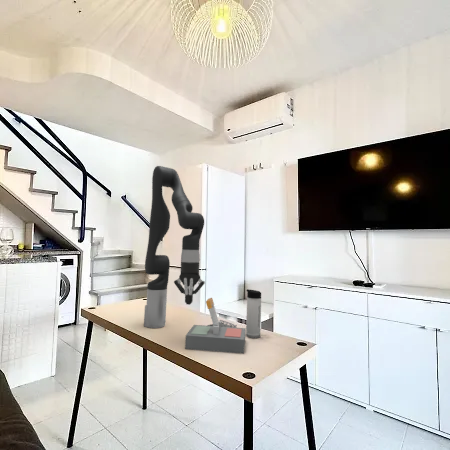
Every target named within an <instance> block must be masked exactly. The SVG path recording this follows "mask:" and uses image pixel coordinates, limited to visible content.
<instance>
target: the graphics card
mask: <svg viewBox="0 0 450 450" xmlns="http://www.w3.org/2000/svg"><path fill="white" fill-rule="evenodd" d="M218 321H221V327H234V328H238V326H237V324H234V323H231V322H228V321H225V320H223V319H218ZM206 326H213V323H212V324H207V325H206Z"/></svg>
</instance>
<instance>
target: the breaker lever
mask: <svg viewBox="0 0 450 450" xmlns="http://www.w3.org/2000/svg"><path fill="white" fill-rule="evenodd" d="M205 303H206V307H207V309H208V312H209V315H210V319H211V322H212V324H213V326H219V325H220V324H219V318H218V315H217V312H216V308H215V303H214V300H213V297H209V298H208V299H207V300H205Z"/></svg>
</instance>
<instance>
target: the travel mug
mask: <svg viewBox="0 0 450 450" xmlns="http://www.w3.org/2000/svg"><path fill="white" fill-rule="evenodd" d="M246 292H247V294H246V295H247V296H246V322H245V324H246V325H245V326H246V327H245V328H246V332H245V337H247V338H250V339H259V338H261V328H262V327H261V325H262V323H261V321H262V319H261V318H262V292H261V291H259V290H254V289H247V288H246Z"/></svg>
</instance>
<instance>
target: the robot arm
mask: <svg viewBox="0 0 450 450" xmlns="http://www.w3.org/2000/svg"><path fill="white" fill-rule="evenodd" d="M151 180H152V181H151V183H152V186H151V189H152V190H151V209H150V217H149V230H148V242H147V247H146V254H145V255H146V256H145V260H144V270H145V274H146V275H149V276H150V275H151V276H153V275H157V277H156V278H155V279H154V280H151V281H149V282H148V283H147V289H146V290H147V291H146V304H145V305H144V313H143V314H144V316H143V318H144V319H143V327H146V328H149V329H160V328H164V327H165V326H166V321H167V320H166V319H167V317H166V316H167V300H168V299H167V296H168V285H169V284H168V283H169V278H170V277H169V276H170V275H169V274H170V268H171V267H170V264H171V262H170V258H169V256H168V255H166V254H159V255H158V254H157V250H158V246H159V245H160V243H161V241H162V240H163V238H165V236H166V235H167V234H168V232H169V229H170V224H171V213H170V209H169V208H168V205H167V204H166V202H165V199H164V195H163V187H164V188H170V189H171V190H172V193H171V194H172V195H171V203H172V206H173V207H174V209H175V212H176V215H177V221H178V225H179V226H180V227H181V228H182V229H184V230H191V232H190V234H187V235H184V236H183V237H182V239H181V240H182V241H181V242H182V243H181V254H180V273H179V278H177V279H175V280H174V281H173V283H174V285H175V286H176V288H177V289H178V290H179V292H180V293H181V294H183V295H184V303H185V305H191V304H192V303H193V300H194V297H193V296H194V295H197V293H198V292H199V291H201V288H202V287H203V286H204V285H205V284H206V282H205V281H204V280H203V279H202V278H201V276H200V260H201V259H200V257H201V256H200V240H201V236H202V232H203V230H204V226H205V218H204V216H203V215H202V213H199V212H198V213H197V212H193V210H194V208H193V205H192V203H191V201H190V199H189V198H188V196H187V195H186V192H185V191H184V188H183V185H182V182H181V178H180V176H179V173H178V172H177V171H176V169H174V168H171V167H165V166H162V165H156V166H155V167H154V168H153V171H152V178H151ZM197 284H198V286H197V287H196V288H195V286H196V285H197ZM183 286H184V287H183Z"/></svg>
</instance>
